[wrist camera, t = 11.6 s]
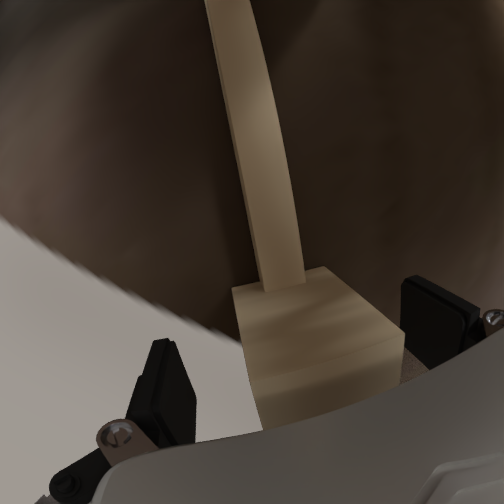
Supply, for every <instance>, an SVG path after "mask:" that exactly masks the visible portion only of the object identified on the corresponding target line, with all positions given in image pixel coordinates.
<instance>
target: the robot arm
mask: <svg viewBox="0 0 504 504" xmlns="http://www.w3.org/2000/svg"><path fill="white" fill-rule="evenodd" d="M479 315H480V308H479V307H477V306H475V305H473V304H471V303H470V302H468V301H466V300H464V299H462V298H460V297H459V296H457V295H455V294H453V293H451V292H449V291H447V290H445V289H444V288H442V287H440V286H438V285H436V284H434V283H432V282H430V281H428V280H426V279H424V278H422V277H421V276H419V275H414V276H411V277H408V278H405V279H404V282H403V283H402V285H401V316H400V329H401V330H402V331H403V332H404V333H405V340H404V347H406V348H407V349H408V350H409V351H410V352H411V353H412V354H413V355H414V356H415V357H416V358H417V359H419V360H420V361H421V362H422V363H423V364H424V365H425V366H426V367H427V368H428V369H429V371H428V372H426V373H424V374H422V375H420V376H418V377H416V378H413V379H411V380H409V381H407V382H405V383H403V384H401V385H398V386H396V387H394V388H392V389H389V390H387V391H385V392H382V393H380V394H378V395H375V396H373V397H370V398H368V399H365V400H362V401H360V402H357V403H354V404H352V405H349V406H346V407H343V408H340V409H337V410H335V411H331V412H328V413H325V414H322V415H319V416H316V417H312V418H309V419H305V420H302V421H298V422H295V423H291V424H287V425H283V426H279V427H275V428H271V429H267V430H262V431H258V432H253V433H248V434H243V435H238V436H232V437H226V438H221V439H216V440H210V441H203V442H197V443H195V435H196V404H197V400H196V395H195V392H194V390H193V387H192V385H191V382H190V380H189V377H188V375H187V372H186V370H185V367H184V365H183V362H182V359H181V357H180V355H179V351H178V349H177V346H176V343H175V342H174V341H170V340H169V339H168V338H165V339H159V340H154V341H153V343H152V346H151V349H150V352H149V355H148V358H147V361H146V364H145V367H144V370H143V373H142V375H140V376H139V377H138V379H137V382H136V385H135V388H134V391H133V394H132V397H131V401H130V404H129V407H128V410H127V413H126V417H125V419H117V420H113V421H111V422H108V423H107V424H105V425H104V426H102V428H101V429H100V430H99V431H98V434H97V437H96V441H97V444H98V446H99V448H97V449H96V450H94V451H93V452H91V453H89V454H88V455H86V456H85V457H83V458H82V459H80V460H78V461H76V462H75V463H73V464H71V465H70V466H68V467H66V468H65V469H63V470H61V471H59V472H58V473H57V474H55V475H54V476H53V478H52V479H51V481H50V484H49V491H50V495H49V496H48V497H46V496H45V495H43V496H42V497H41V498H40V499H39V500H38V501H37V502H36V503H35V504H504V310H501V309H492V310H489V311H486V312H485V313H484V314H483V317H482V318H480V317H479Z"/></svg>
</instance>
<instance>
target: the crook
mask: <svg viewBox="0 0 504 504" xmlns="http://www.w3.org/2000/svg"><path fill="white" fill-rule="evenodd" d="M204 1H205V6H206V11H207V16H208V21H209V26H210V31H211V36H212V41H213V46H214V51H215V56H216V61H217V66H218V71H219V76H220V81H221V86H222V91H223V96H224V101H225V106H226V111H227V116H228V121H229V126H230V131H231V136H232V141H233V146H234V151H235V156H236V161H237V166H238V171H239V176H240V182H241V187H242V192H243V197H244V202H245V207H246V212H247V217H248V222H249V227H250V232H251V237H252V243H253V248H254V253H255V258H256V263H257V268H258V273H259V278H260V281H259V282H255V283H251V284H246V285H242V286H237V287H233V288H231V289H232V294H233V299H234V305H235V310H236V315H237V321H238V326H239V331H240V336H241V341H242V347H243V351H244V357H245V361H246V366H247V371H248V376H249V381H250V385H251V389H252V392H253V396H254V399H255V403H256V407H257V410H258V414H259V417H260V421H261V424H262V427H263V430H267V429H271V428H275V427H279V426H283V425H287V424H291V423H295V422H298V421H302V420H305V419H309V418H312V417H316V416H319V415H322V414H325V413H328V412H331V411H335V410H337V409H340V408H343V407H346V406H349V405H352V404H354V403H357V402H360V401H362V400H365V399H368V398H370V397H373V396H375V395H378V394H380V393H382V392H385V391H387V390H389V389H392V388H394V387H396V386H398V385H399V382H400V375H401V368H402V359H403V350H404V340H405V333H404V332H403V331H402V330H401V329H399V328H398V327H397V326H396V325H395V324H394V323H392V322H391V321H390V320H389V319H388V318H387V317H385V316H384V315H383V314H382V313H381V312H379V311H378V310H377V309H376V308H375V307H373V306H372V305H371V304H370V303H369V302H367V301H366V300H365V299H364V298H363V297H361V296H360V295H359V294H358V293H357V292H355V291H354V290H353V289H352V288H351V287H349V286H348V285H347V284H346V283H344V282H343V281H342V280H341V279H340V278H338V277H337V276H336V275H335V274H333V273H332V272H331V271H330V270H328V269H327V268H326V267H325V266H322V267H318V268H314V269H310V270H306V271H305V270H304V263H303V256H302V249H301V242H300V236H299V229H298V223H297V217H296V211H295V205H294V199H293V193H292V187H291V182H290V176H289V171H288V165H287V160H286V155H285V150H284V144H283V139H282V134H281V129H280V125H279V120H278V115H277V110H276V106H275V101H274V96H273V92H272V87H271V83H270V79H269V74H268V70H267V66H266V62H265V58H264V54H263V49H262V45H261V42H260V38H259V34H258V30H257V26H256V22H255V19H254V15H253V11H252V8H251V4H250V0H204Z"/></svg>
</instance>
